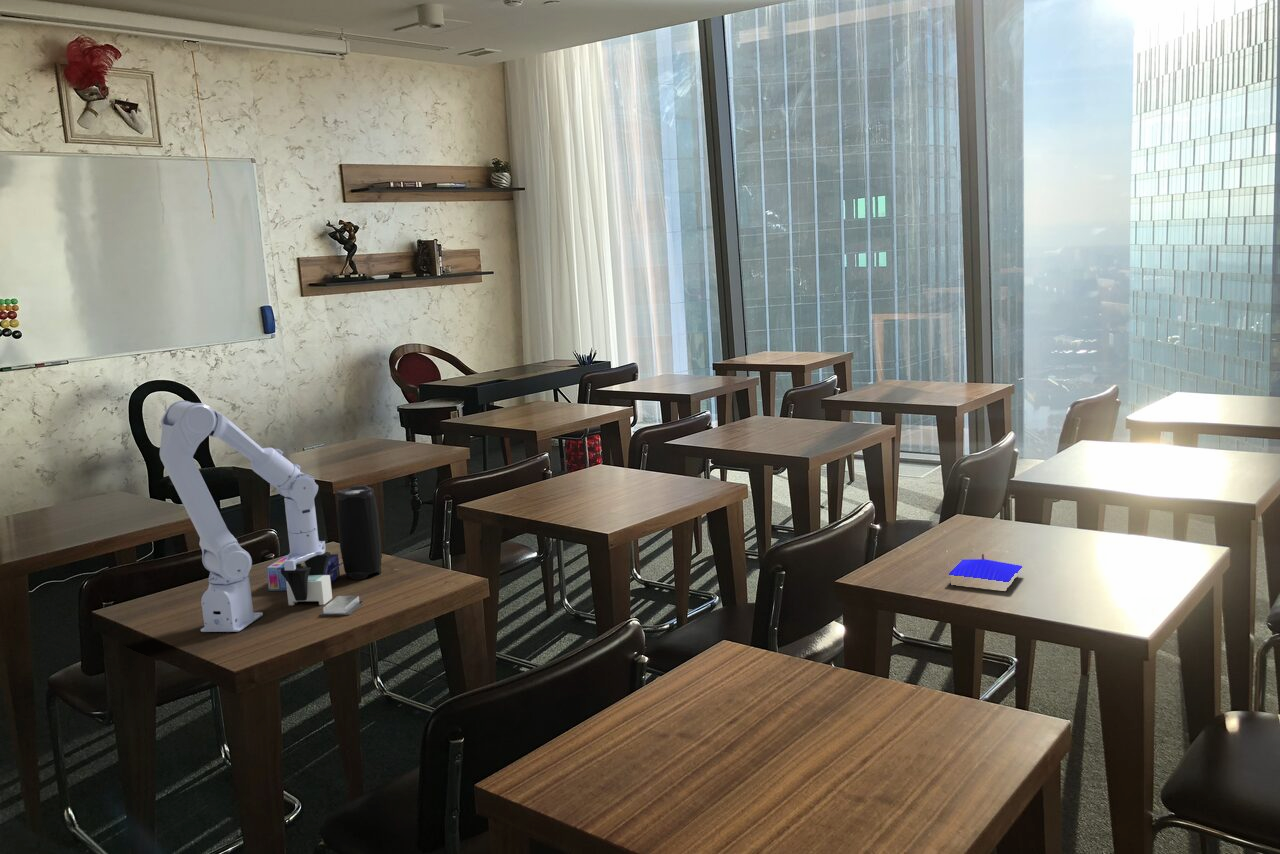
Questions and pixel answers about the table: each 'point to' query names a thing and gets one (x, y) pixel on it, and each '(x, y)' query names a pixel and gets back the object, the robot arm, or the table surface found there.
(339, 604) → the grey base plate
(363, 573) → the portable speaker
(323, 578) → the rail module
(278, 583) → the ink cartridge box
